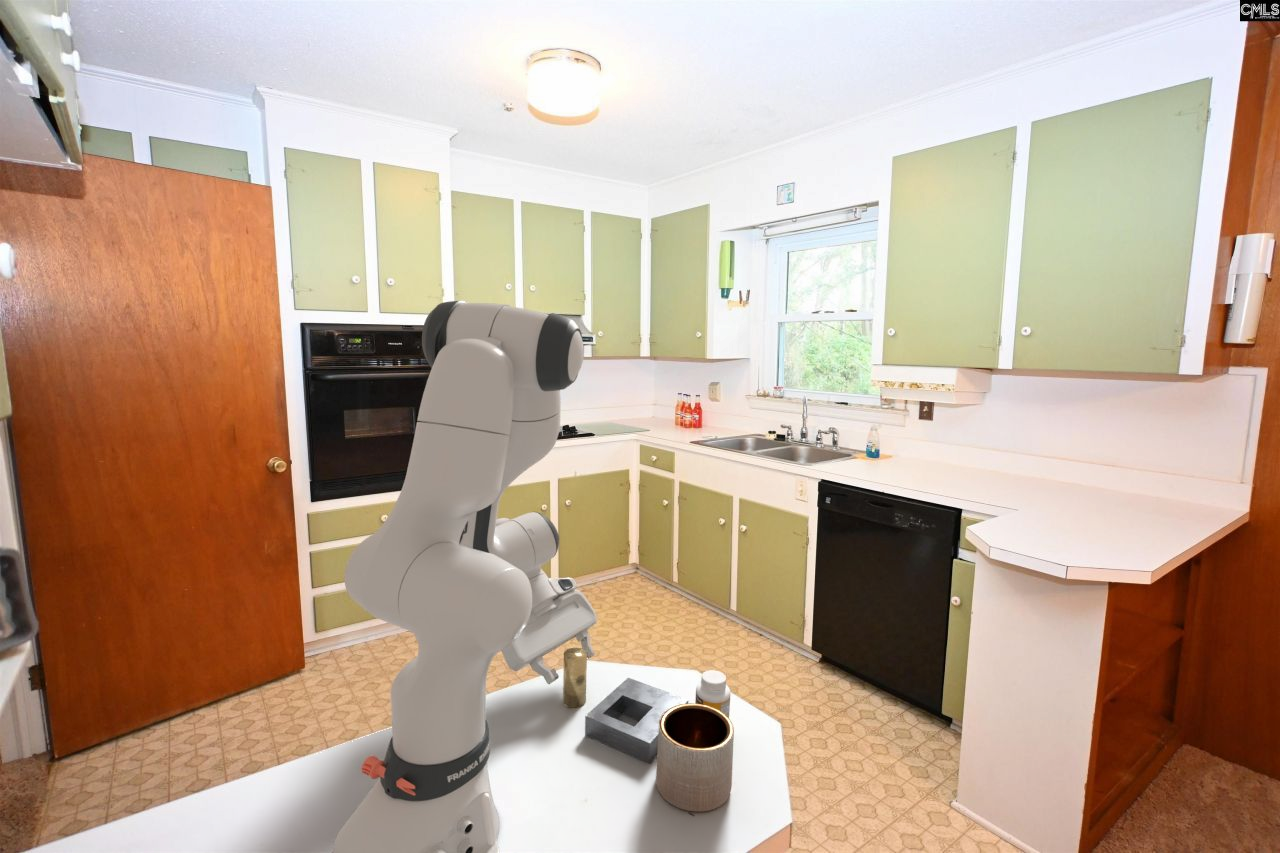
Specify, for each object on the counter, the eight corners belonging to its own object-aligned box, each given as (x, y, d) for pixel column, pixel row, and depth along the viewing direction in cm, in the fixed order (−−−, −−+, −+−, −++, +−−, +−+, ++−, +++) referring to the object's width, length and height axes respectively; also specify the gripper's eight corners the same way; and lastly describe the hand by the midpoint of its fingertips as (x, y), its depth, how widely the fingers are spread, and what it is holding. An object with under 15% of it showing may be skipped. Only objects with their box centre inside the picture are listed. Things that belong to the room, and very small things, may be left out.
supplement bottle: (686, 733, 98) (689, 675, 97) (709, 719, 102) (711, 663, 100) (712, 750, 94) (716, 690, 93) (735, 735, 98) (738, 677, 96)
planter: (728, 762, 92) (732, 705, 90) (733, 819, 81) (737, 755, 80) (658, 756, 93) (660, 699, 91) (653, 811, 82) (655, 748, 80)
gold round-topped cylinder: (576, 710, 103) (577, 662, 102) (558, 702, 105) (559, 655, 104) (590, 699, 107) (591, 651, 105) (572, 691, 109) (573, 645, 107)
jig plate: (649, 764, 91) (650, 743, 90) (585, 735, 97) (585, 715, 96) (687, 718, 102) (688, 699, 101) (627, 695, 108) (628, 677, 107)
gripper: (497, 613, 100) (539, 689, 96) (579, 575, 116) (618, 638, 112) (479, 630, 103) (519, 704, 99) (562, 591, 119) (599, 652, 115)
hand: (572, 669), depth 105 cm, fingers open, 8 cm apart
